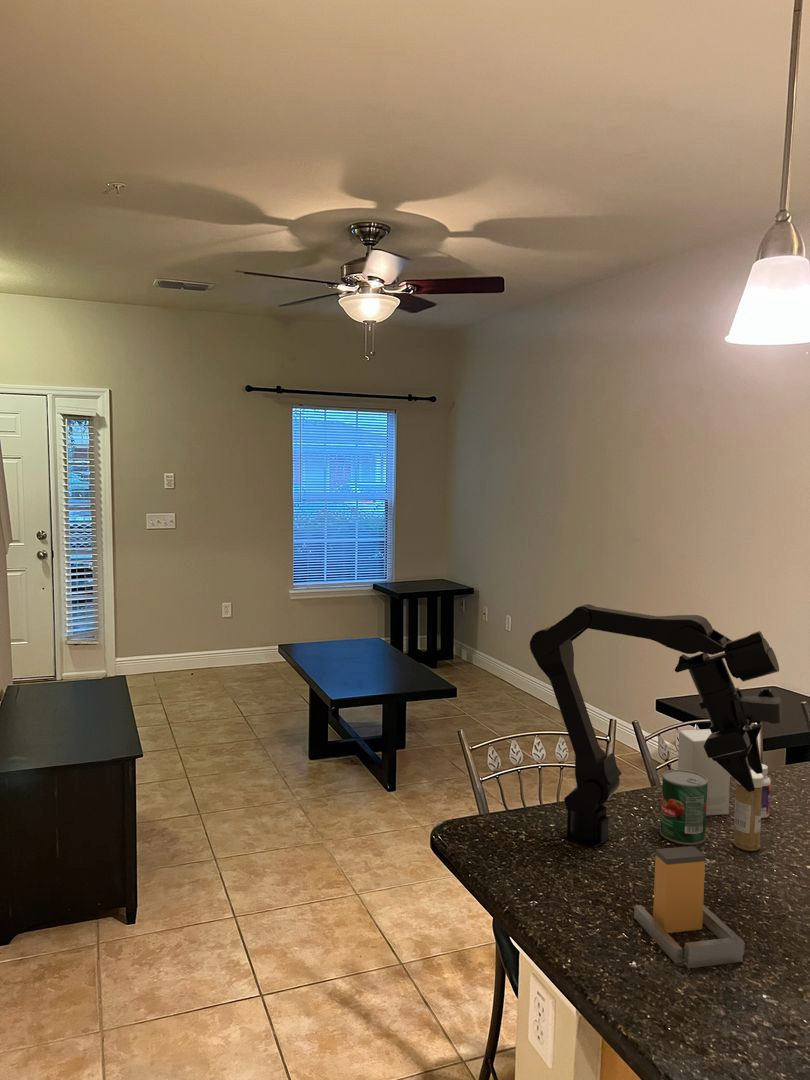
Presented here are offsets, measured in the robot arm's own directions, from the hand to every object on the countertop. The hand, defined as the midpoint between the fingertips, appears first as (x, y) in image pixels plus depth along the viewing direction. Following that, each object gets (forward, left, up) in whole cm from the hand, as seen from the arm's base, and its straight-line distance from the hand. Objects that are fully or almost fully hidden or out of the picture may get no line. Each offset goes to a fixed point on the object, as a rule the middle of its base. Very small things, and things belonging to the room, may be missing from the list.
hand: (755, 781), depth 123 cm
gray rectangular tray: (-2, -23, -17) cm, 29 cm away
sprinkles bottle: (-5, +13, -17) cm, 22 cm away
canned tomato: (-15, +9, -17) cm, 24 cm away
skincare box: (-17, +23, -17) cm, 33 cm away
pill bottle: (-9, +29, -17) cm, 35 cm away
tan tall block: (-3, -23, -16) cm, 28 cm away
